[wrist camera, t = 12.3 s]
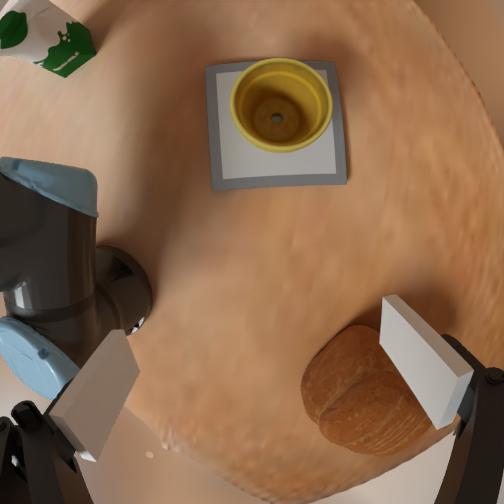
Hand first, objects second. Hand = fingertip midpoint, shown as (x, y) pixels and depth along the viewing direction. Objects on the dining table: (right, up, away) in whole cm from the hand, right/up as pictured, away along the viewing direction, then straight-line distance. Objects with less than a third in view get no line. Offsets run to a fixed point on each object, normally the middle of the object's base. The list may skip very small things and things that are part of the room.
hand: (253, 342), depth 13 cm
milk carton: (-30, +39, +19) cm, 52 cm away
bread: (+20, -17, +33) cm, 42 cm away
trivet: (+3, +22, +23) cm, 32 cm away
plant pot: (+3, +22, +21) cm, 30 cm away
